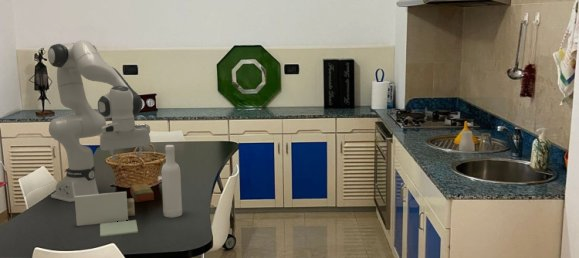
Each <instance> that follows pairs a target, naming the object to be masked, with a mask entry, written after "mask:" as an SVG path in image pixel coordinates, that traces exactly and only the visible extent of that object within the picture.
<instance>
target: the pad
mask: <svg viewBox="0 0 579 258" xmlns="http://www.w3.org/2000/svg"><path fill="white" fill-rule="evenodd" d="M137 224H138V223H137V220H136V219H133V220H132V219H131V220H128V221H118V222H109V223H100V224H99V237H101V238H102V237H109V236H119V235H127V234H128V235H129V234H137V233H139V230H138V225H137Z"/></svg>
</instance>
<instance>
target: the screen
mask: <svg viewBox="0 0 579 258" xmlns="http://www.w3.org/2000/svg"><path fill="white" fill-rule="evenodd" d="M127 194H128V193H127V191H117V192H105V193H104V192H103V193H99V194H93V195H82V196H75V201H74V205H75V207H74V208H75V218H76V221H75V222H76V227H79V226H89V225H98V224H99V225H100V224H102V223H112V222H117V221H118V222H121V221H126V220H128V221H129V216H128V209H127V199H128V198H127V197H128V196H127Z"/></svg>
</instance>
